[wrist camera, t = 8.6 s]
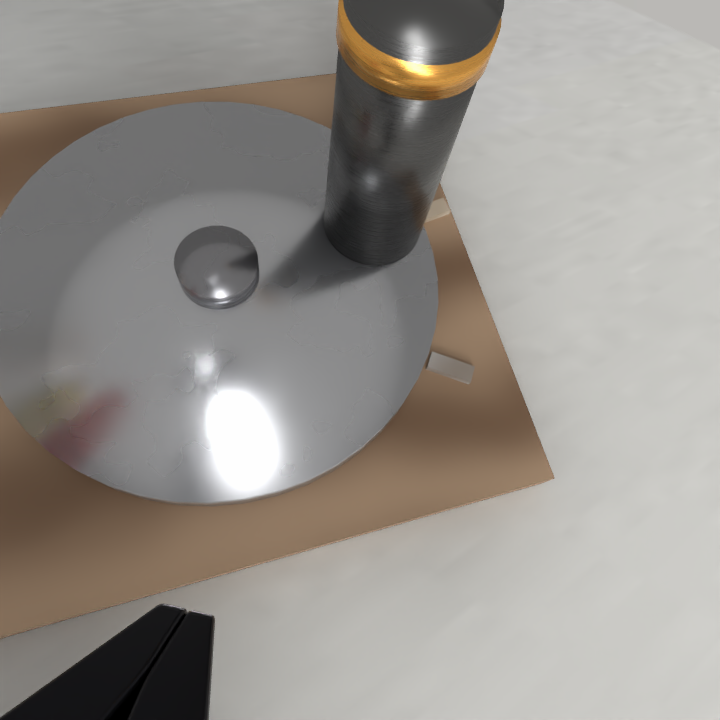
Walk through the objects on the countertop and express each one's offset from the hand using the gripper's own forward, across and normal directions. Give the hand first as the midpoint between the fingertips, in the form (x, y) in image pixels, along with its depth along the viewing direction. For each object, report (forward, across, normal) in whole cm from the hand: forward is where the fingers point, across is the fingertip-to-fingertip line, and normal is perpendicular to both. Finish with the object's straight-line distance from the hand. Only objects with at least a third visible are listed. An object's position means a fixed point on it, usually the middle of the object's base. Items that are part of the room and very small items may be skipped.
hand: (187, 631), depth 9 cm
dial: (+15, +5, -1) cm, 16 cm away
